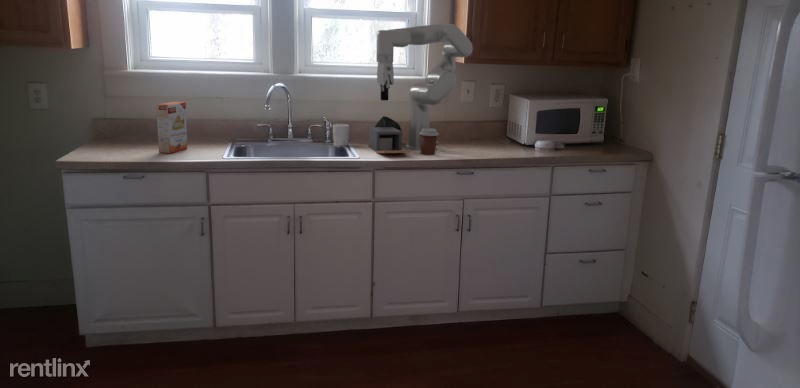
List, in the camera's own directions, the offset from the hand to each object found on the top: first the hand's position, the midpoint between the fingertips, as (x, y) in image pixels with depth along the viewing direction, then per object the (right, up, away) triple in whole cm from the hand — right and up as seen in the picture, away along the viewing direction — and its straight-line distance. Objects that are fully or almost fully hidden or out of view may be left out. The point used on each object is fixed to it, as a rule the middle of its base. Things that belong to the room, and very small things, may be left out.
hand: (384, 100), depth 272 cm
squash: (+1, -18, +29) cm, 34 cm away
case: (0, -22, +12) cm, 25 cm away
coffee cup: (+20, -25, +5) cm, 32 cm away
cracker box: (-92, -24, -9) cm, 96 cm away
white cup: (-22, -19, +20) cm, 35 cm away
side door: (+2, -24, +4) cm, 24 cm away
